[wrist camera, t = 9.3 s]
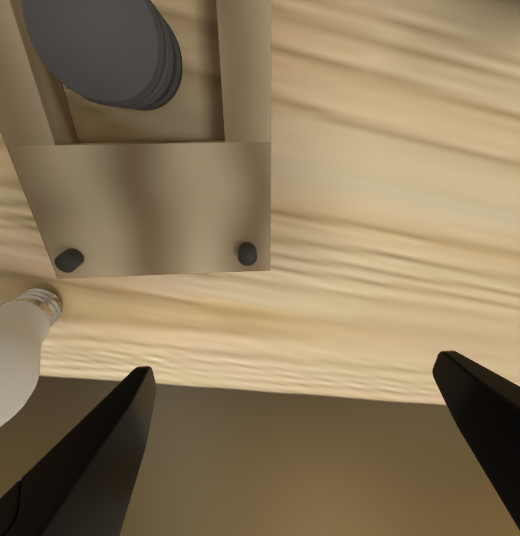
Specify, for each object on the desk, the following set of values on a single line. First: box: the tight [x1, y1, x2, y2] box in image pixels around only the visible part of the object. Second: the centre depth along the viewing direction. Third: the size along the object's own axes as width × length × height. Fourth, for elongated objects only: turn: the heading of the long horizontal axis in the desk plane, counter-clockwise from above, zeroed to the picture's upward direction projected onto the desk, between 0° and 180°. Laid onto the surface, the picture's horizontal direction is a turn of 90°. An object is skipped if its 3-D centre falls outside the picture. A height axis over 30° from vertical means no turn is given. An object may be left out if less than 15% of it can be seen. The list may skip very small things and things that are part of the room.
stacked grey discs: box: [22, 0, 182, 110], centre depth 13 cm, size 5×5×6 cm
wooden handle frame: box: [0, 0, 271, 279], centre depth 15 cm, size 14×16×4 cm
